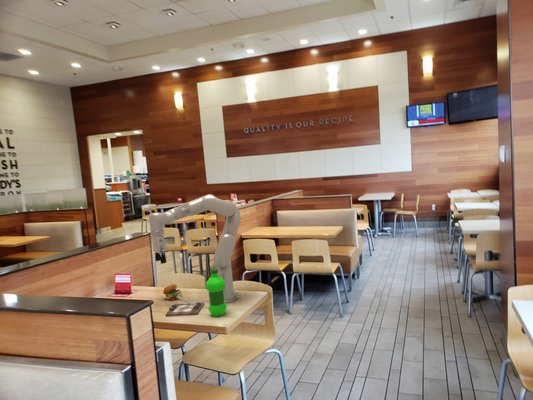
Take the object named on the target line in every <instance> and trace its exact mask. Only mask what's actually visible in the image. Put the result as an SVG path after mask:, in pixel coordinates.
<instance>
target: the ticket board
mask: <svg viewBox="0 0 533 400" xmlns="http://www.w3.org/2000/svg"><path fill="white" fill-rule="evenodd" d="M194 303H195V304H197V305H195V307H194V306H192V305H190V304H188V303H175V304H171V307H169V308H168V310H167V312H166V313H165V314H164V315H165V318H166V317H184V316H198V314H199V313H200V312H201V310H202V309H203V307H204V306H205V302H200V301H198V302H194Z"/></svg>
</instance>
